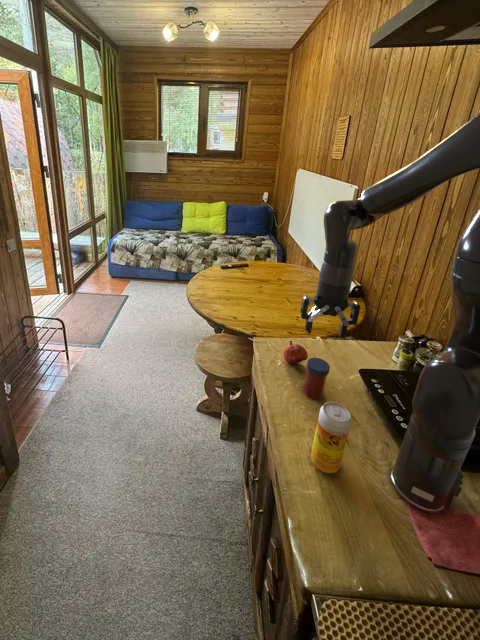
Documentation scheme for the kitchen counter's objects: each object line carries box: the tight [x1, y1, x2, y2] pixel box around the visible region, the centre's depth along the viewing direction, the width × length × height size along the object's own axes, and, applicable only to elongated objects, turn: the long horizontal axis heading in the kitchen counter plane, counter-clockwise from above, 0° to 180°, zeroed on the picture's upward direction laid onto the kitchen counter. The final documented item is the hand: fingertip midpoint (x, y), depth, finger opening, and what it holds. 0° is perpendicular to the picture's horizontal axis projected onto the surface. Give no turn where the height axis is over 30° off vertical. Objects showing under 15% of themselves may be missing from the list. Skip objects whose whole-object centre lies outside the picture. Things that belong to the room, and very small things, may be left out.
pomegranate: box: [283, 340, 309, 372], centre depth 101 cm, size 7×7×10 cm
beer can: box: [310, 401, 352, 474], centre depth 67 cm, size 6×6×15 cm
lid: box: [306, 357, 330, 376], centre depth 87 cm, size 6×6×2 cm
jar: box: [303, 368, 328, 400], centre depth 89 cm, size 5×5×10 cm
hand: (324, 334), depth 83 cm, fingers open, 7 cm apart
